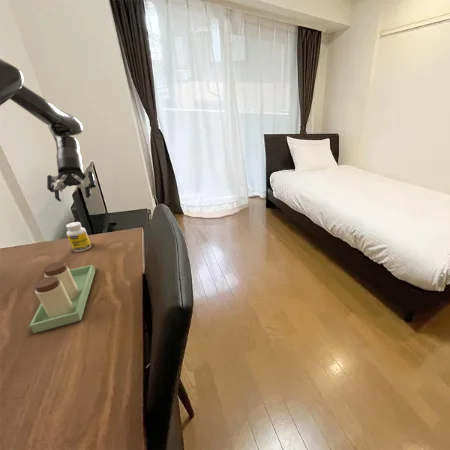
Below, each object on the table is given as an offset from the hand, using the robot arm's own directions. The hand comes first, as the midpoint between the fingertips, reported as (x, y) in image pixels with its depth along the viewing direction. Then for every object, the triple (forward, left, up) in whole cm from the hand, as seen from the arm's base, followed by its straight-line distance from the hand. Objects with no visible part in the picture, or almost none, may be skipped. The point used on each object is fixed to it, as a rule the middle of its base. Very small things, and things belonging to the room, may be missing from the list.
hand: (74, 198), depth 101 cm
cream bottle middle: (+16, -39, -15) cm, 44 cm away
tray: (+16, -39, -15) cm, 45 cm away
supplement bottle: (+4, -11, -16) cm, 19 cm away
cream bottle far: (+18, -45, -15) cm, 51 cm away
